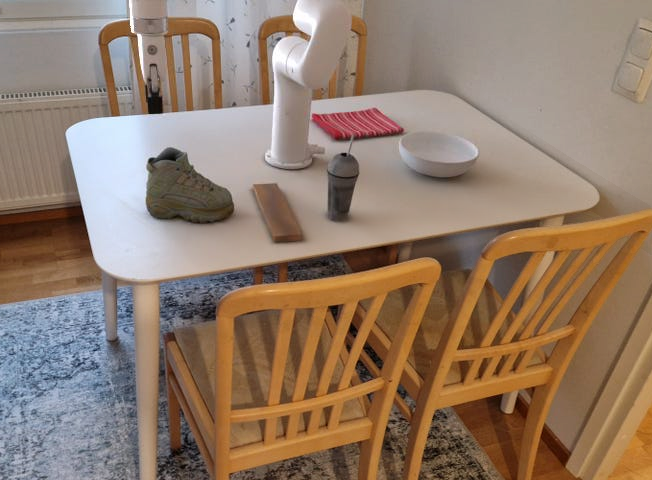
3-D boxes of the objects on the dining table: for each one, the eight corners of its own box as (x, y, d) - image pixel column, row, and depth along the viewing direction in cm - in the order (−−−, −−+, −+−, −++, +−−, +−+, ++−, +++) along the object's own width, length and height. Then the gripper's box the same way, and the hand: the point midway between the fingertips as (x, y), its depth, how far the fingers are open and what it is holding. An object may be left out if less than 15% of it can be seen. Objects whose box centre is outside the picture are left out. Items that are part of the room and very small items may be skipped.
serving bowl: (487, 171, 172) (493, 147, 168) (446, 195, 159) (452, 170, 155) (422, 146, 183) (427, 123, 179) (379, 166, 170) (383, 142, 166)
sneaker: (224, 231, 137) (225, 165, 130) (140, 218, 140) (136, 153, 132) (237, 211, 146) (239, 149, 139) (158, 200, 149) (156, 138, 142)
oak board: (276, 188, 156) (276, 183, 155) (301, 240, 137) (302, 234, 136) (252, 190, 154) (252, 184, 153) (274, 242, 135) (274, 236, 134)
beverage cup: (319, 208, 149) (328, 127, 137) (350, 208, 150) (361, 128, 138) (323, 224, 143) (333, 141, 131) (355, 224, 144) (367, 142, 132)
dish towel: (308, 120, 194) (309, 112, 192) (376, 113, 202) (377, 105, 201) (333, 142, 181) (334, 133, 180) (404, 134, 189) (405, 126, 188)
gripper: (171, 35, 126) (175, 122, 136) (164, 14, 139) (168, 94, 150) (133, 35, 124) (139, 123, 134) (129, 13, 138) (135, 94, 148)
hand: (154, 107), depth 142 cm, fingers open, 6 cm apart
